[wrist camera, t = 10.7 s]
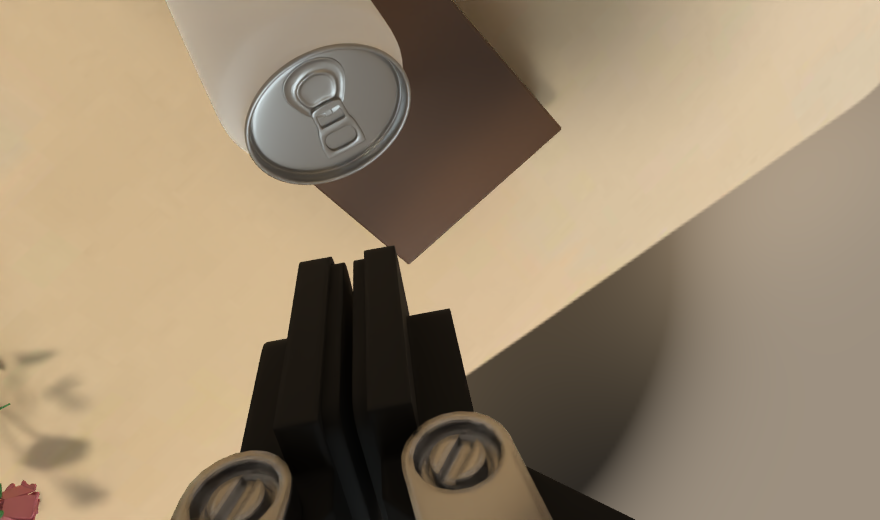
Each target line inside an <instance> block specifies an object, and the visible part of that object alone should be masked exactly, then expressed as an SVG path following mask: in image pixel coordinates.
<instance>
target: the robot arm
mask: <svg viewBox="0 0 880 520" xmlns="http://www.w3.org/2000/svg"><path fill="white" fill-rule="evenodd" d="M171 520H635V519H633V518H631V517H629V516H627V515H625V514H622V513H621V512H619V511H616V510H614V509H612V508H610V507H608V506H606V505H604V504H602V503H600V502H598V501H596V500H594V499H592V498H590V497H588V496H586V495H584V494H582V493H580V492H578V491H576V490H574V489H572V488H569V487H567V486H565V485H563V484H561V483H559V482H557V481H555V480H553V479H551V478H549V477H547V476H545V475H543V474H541V473H539V472H537V471H535V470H533V469H531V468H528V467H527V466H525V464H524V462H523V460H522V458H521V456H520V454H519V452H518V450H517V448H516V446H515V444H514V442H513V440H512V438H511V436H510V435H509V433H508V432H507V431H506V430H505V428H504V427H503V426H502V424H500V423H499V422H497V421H495V420H494V419H492V418H491V417H489V416H486V415H483V414H479V413H476V412H474V411H473V406H472V402H471V398H470V393H469V390H468V385H467V380H466V376H465V372H464V367H463V363H462V359H461V354H460V350H459V346H458V341H457V337H456V333H455V328H454V324H453V320H452V315H451V311H450V308H449V309H444V310H439V311H433V312H428V313H422V314H417V315H411V316H409V311H408V306H407V301H406V296H405V292H404V287H403V282H402V277H401V272H400V267H399V262H398V258H397V253H396V249H395V245H393V246H388V247H382V248H377V249H371V250H366V251H364V259H361V260H356V261H354V263H353V290H352V286H351V282H350V278H349V274H348V270H347V267H346V264H345V263H339V264H334V261H333V259H332V257H327V258H322V259H316V260H311V261H305V262H300V264H299V268H298V274H297V281H296V287H295V293H294V299H293V306H292V312H291V318H290V324H289V330H288V337H287V339H282V340H276V341H271V342H267V343H265V344H264V346H263V349H262V352H261V357H260V362H259V366H258V371H257V376H256V381H255V385H254V390H253V395H252V399H251V404H250V409H249V413H248V418H247V423H246V428H245V432H244V437H243V442H242V446H241V451H240V453H235V454H233V455H230V456H228V457H226V458H223V459H221V460H219V461H217V462H215V463H214V464H212V465H211V466H209V467H208V468H206V469H205V470H204V471H202V472H201V473H200V474H199V475H198V476H197V477H196V478H195V479H194V480H193V481H192V482H191V483H190V484H189V486H188V487H187V489H186V491H185V492H184V494H183V495H182V497H181V498H180V500H179V503H178V505H177V507H176V509H175V511H174V513H173V516H172V518H171Z"/></svg>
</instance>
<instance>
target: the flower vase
mask: <svg viewBox="0 0 880 520" xmlns="http://www.w3.org/2000/svg"><path fill="white" fill-rule="evenodd" d="M8 405H10V403H9V404H7V405H5V406H3V407H0V410H1V409H2V408H4V407H6V406H8ZM36 486H37V485H36V484H31V485H28V484H27V483H26V481H24V480H23V481H22V483H21V485H20V486H17V487H15V484H14V483H11V484H10V485H9V486H8V487H7V488H6V490H5V491H4V492H2V487H1V483H0V499H1V500H0V520H35V516H36V514H38V505H39V502H40V499H38V497H39V492H34V491H35V490H36ZM31 492H33V493H31ZM29 493H31V494H29ZM28 494H29V495H28Z"/></svg>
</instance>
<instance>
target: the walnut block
mask: <svg viewBox="0 0 880 520" xmlns="http://www.w3.org/2000/svg"><path fill="white" fill-rule="evenodd" d="M371 1H372V3H373V4H374V6H375V7H376V9H377V10H378V11H379V13H380V14H381V16H382V17H383V19H384V20H385V22H386V23H387V25H388V26H389V28H390V29H391V31H392V33H393V35H394V37H395V39H396V41H397V43H398V45H399V48H400V52H401V57H402V65H403V69H404V71H405V73H406V75H407V77H408V80H409V83H410V88H411V104H410V110H409V114H408V117H407V119H406V122H405V124H404V126H403V128H402V130H401V132H400V133H399V135H398V136H397V138H396V139H395V140H394V142H393V143H392V144H391V145H390V147H389V148H388V149H387V150H386V151H385V152H384V153H383V154H382V155H380V156H379V157H378V158H377V159H376V160H374V161H373V162H372V163H370V164H369V165H367V166H366V167H364V168H363V169H361V170H359V171H357V172H355V173H353V174H351V175H349V176H347V177H344V178H341V179H338V180H335V181H331V182H327V183H322V184H314V185H315V186H316V187H317V188H318V189H319V190H321V191H322V192H323V193H324V194H325V195H326V196H328V197H329V198H330V199H331V200H332V201H334V202H335V203H336V204H337V205H338V206H340V207H341V208H342V209H343V210H344V211H345V212H347V213H348V214H349V215H350V216H351V217H353V218H354V219H355V220H356V221H357V222H359V223H360V224H361V225H362V226H363V227H365V228H366V229H367V230H368V231H369V232H370V233H372V234H373V235H374V236H375V237H376V238H378V239H379V240H380V241H381V242H382V243H384V244H385V245H386V246H387V247H388V246H393V245H395V249H396V253H397V255H398V256H399V257H400V258H401V259H403V260H404V261H405V262H406V263H407V264H410V263H411V262H412V261H414V260H415V259H416V258H417V257H418V256H419V255H420V254H421V253H423V252H424V251H425V250H426V249H427V248H428V247H429V246H430V245H432V244H433V243H434V242H435V241H436V240H437V239H438V238H439V237H441V236H442V235H443V234H444V233H445V232H446V231H447V230H448V229H450V228H451V227H452V226H453V225H454V224H455V223H456V222H457V221H459V220H460V219H461V218H462V217H463V216H464V215H465V214H466V213H468V212H469V211H470V210H471V209H472V208H473V207H474V206H476V205H477V204H478V203H479V202H480V201H481V200H482V199H483V198H485V197H486V196H487V195H488V194H489V193H490V192H491V191H492V190H494V189H495V188H496V187H497V186H498V185H499V184H500V183H501V182H503V181H504V180H505V179H506V178H507V177H508V176H509V175H510V174H512V173H513V172H514V171H515V170H516V169H517V168H518V167H519V166H521V165H522V164H523V163H524V162H525V161H526V160H527V159H528V158H530V157H531V156H532V155H533V154H534V153H535V152H536V151H538V150H539V149H540V148H541V147H542V146H543V145H544V144H545V143H547V142H548V141H549V140H550V139H551V138H552V137H553V136H554V135H556V134H557V133H558V132H559V131H560V130H561V127H560V126H559V124H558V123H557V122H556V121H555V120H554V119H553V117H552V116H551V115H550V114H549V113H548V112H547V110H546V109H545V108H544V107H543V106H542V105H541V104H540V102H539V101H538V100H537V99H536V98H535V97H534V95H533V94H532V93H531V92H530V91H529V90H528V88H527V87H526V86H525V85H524V84H523V83H522V82H521V80H520V79H519V78H518V77H517V76H516V75H515V73H514V72H513V71H512V70H511V69H510V68H509V66H508V65H507V64H506V63H505V62H504V61H503V59H502V58H501V57H500V56H499V55H498V54H497V53H496V51H495V50H494V49H493V48H492V47H491V46H490V44H489V43H488V42H487V41H486V40H485V39H484V37H483V36H482V35H481V34H480V33H479V32H478V30H477V29H476V28H475V27H474V26H473V25H472V24H471V22H470V21H469V20H468V19H467V18H466V17H465V15H464V14H463V13H462V12H461V11H460V10H459V8H458V7H457V6H456V5H455V4H454V3H453V2H452V0H371Z"/></svg>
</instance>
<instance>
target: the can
mask: <svg viewBox="0 0 880 520" xmlns="http://www.w3.org/2000/svg"><path fill="white" fill-rule="evenodd" d="M165 1H166V3H167V5H168V8H169V10H170V12H171V14H172V17H173V19H174V21H175V23H176V26H177V28H178V30H179V32H180V35H181V37H182V39H183V41H184V44H185V46H186V48H187V50H188V53H189V55H190V57H191V59H192V62H193V64H194V66H195V68H196V71H197V73H198V75H199V77H200V79H201V82H202V84H203V86H204V88H205V90H206V93H207V95H208V97H209V99H210V101H211V104H212V106H213V108H214V110H215V112H216V114H217V116H218V118H219V120H220V122H221V124H222V126H223V127H224V129H225V131H226V132H227V134H228V135H229V137H230V138H231V139H232V140H233V141H234V142H235V143H236V144H237V145H238V146H239V147H240V148H241V149H243V150H244V151H245V152H247V153H248V154H250V156H251V158H252V160H253V161H254V163H255V164H256V165H257V166H258V167H259V168H260V169H261V170H262V171H263V172H265V173H266V174H268V175H269V176H271V177H273V178H275V179H277V180H280V181H283V182H287V183H291V184H299V185H314V184H322V183H327V182H331V181H335V180H338V179H341V178H344V177H347V176H349V175H351V174H353V173H355V172H357V171H359V170H361V169H363V168H364V167H366V166H367V165H369V164H370V163H372V162H373V161H374V160H376V159H377V158H378V157H379V156H380V155H382V154H383V153H384V152H385V151H386V150H387V149H388V148H389V147H390V145H391V144H392V143H393V142H394V140H395V139H396V138H397V136H398V135H399V133H400V132H401V130H402V128H403V126H404V124H405V122H406V119H407V117H408V114H409V110H410V104H411V88H410V83H409V80H408V77H407V75H406V73H405V71H404V69H403V65H402V57H401V52H400V48H399V45H398V43H397V41H396V39H395V37H394V35H393V33H392V31H391V29H390V28H389V26H388V25H387V23H386V22H385V20H384V19H383V17H382V16H381V14H380V13H379V11H378V10H377V9H376V7H375V6H374V4H373V3H372V1H371V0H165Z"/></svg>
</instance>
